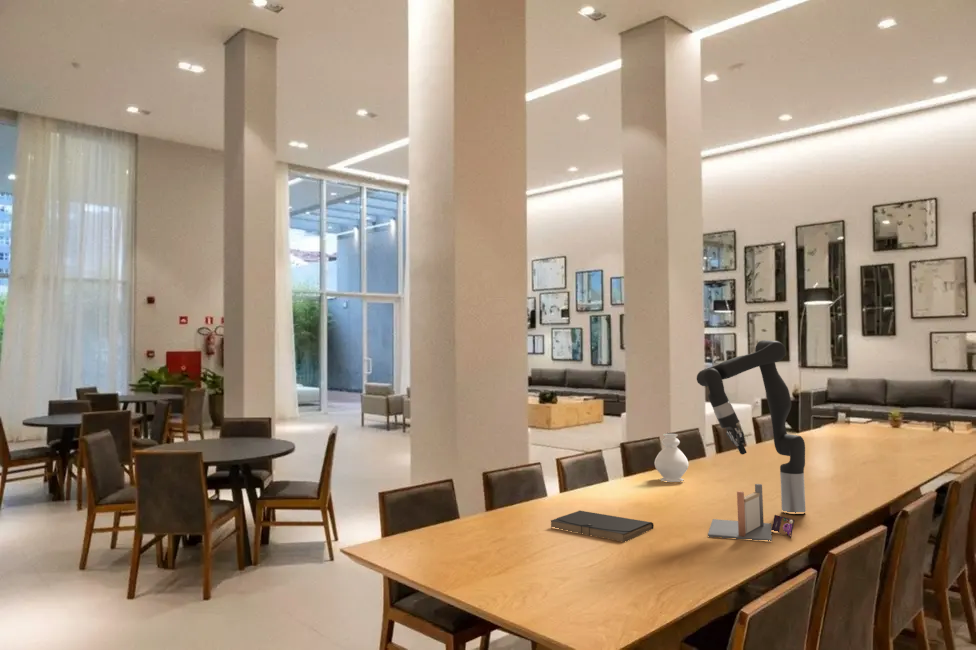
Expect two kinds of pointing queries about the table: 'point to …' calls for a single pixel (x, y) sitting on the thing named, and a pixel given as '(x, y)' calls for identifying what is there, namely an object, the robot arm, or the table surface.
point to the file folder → (602, 525)
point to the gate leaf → (752, 511)
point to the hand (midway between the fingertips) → (743, 453)
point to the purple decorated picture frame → (786, 527)
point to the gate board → (733, 530)
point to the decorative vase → (671, 460)
